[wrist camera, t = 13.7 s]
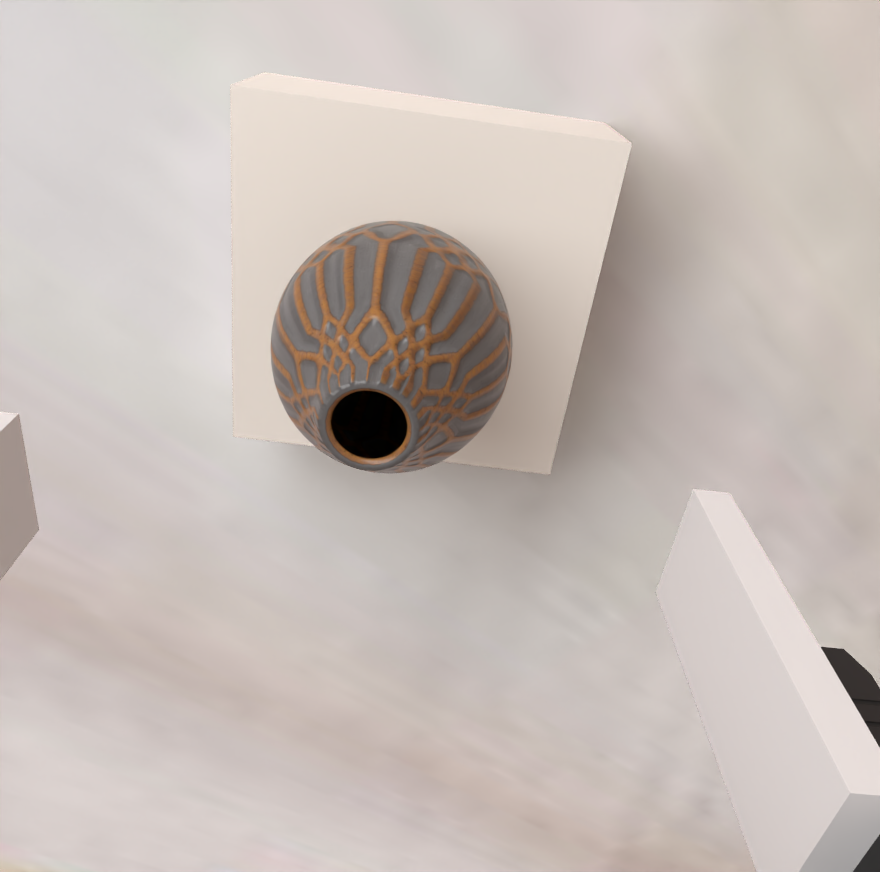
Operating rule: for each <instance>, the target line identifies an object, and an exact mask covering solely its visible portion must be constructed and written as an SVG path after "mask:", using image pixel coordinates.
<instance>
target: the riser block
mask: <svg viewBox="0 0 880 872" xmlns="http://www.w3.org/2000/svg"><path fill="white" fill-rule="evenodd" d="M230 98H231V237H232V375H233V437H240V438H248V439H256V440H265V441H273V442H281V443H290V444H298V445H306V446H314V445H313V444H312V443H311V442H309V441H308V440H307V439H306V438H305V437H304V436H303V434H302V433H301V432H300V431H299V430H298V429H297V428H296V426H295V425H294V423H293V422H292V421H291V419H290V418H289V416H288V414H287V412H286V410H285V409H284V407H283V404H282V402H281V400H280V398H279V395H278V392H277V389H276V386H275V382H274V377H273V372H272V365H271V349H270V347H271V333H272V325H273V321H274V316H275V313H276V310H277V307H278V303H279V301H280V298H281V296H282V294H283V292H284V290H285V288H286V286H287V284H288V283H289V281H290V280H291V278H292V277H293V275H294V273H295V272H296V271H297V270H298V268H299V267H300V266H301V265H302V264H303V262H304V261H305V260H306V259H307V258H308V257H309V256H310V255H311V254H312V253H313V252H315V251H316V250H317V249H318V248H319V247H321V246H322V245H323V244H324V243H326V242H327V241H329V240H330V239H332V238H334V237H335V236H337V235H339V234H341V233H342V232H344V231H347V230H349V229H351V228H354V227H357V226H360V225H364V224H368V223H373V222H380V221H406V222H413V223H419V224H423V225H427V226H429V227H432V228H435V229H438V230H440V231H442V232H444V233H446V234H448V235H450V236H452V237H453V238H455V239H457V240H458V241H460V242H461V243H462V244H464V245H465V246H466V247H468V248H469V249H470V250H471V251H472V252H473V253H475V254H476V256H477V257H478V258H479V259H480V260H481V261H482V262H483V263H484V264H485V266H486V267H487V268H488V269H489V271H490V272H491V274H492V275H493V277H494V279H495V280H496V282H497V284H498V286H499V288H500V290H501V293H502V295H503V298H504V300H505V303H506V306H507V310H508V314H509V318H510V324H511V331H512V362H511V369H510V373H509V377H508V381H507V384H506V387H505V390H504V393H503V395H502V398H501V400H500V402H499V404H498V406H497V408H496V409H495V411H494V413H493V414H492V416H491V418H490V419H489V420H488V422H487V423H486V424H485V426H484V427H483V428H482V429H481V431H480V432H479V433H478V434H477V435H476V436H475V437H474V438H473V439H472V440H471V441H470V442H469V443H468V444H467V445H466V446H464V447H463V448H462V449H461V450H459V451H458V452H456V453H455V454H453V455H452V456H450V457H448V458H447V459H445V460H443V461H441V462H448V463H456V464H464V465H473V466H481V467H489V468H498V469H506V470H514V471H523V472H531V473H539V474H547V475H550V472H551V468H552V464H553V460H554V456H555V452H556V448H557V444H558V440H559V436H560V432H561V428H562V424H563V420H564V416H565V412H566V408H567V404H568V400H569V396H570V392H571V388H572V384H573V380H574V376H575V372H576V368H577V364H578V360H579V356H580V352H581V347H582V343H583V339H584V335H585V331H586V327H587V323H588V319H589V315H590V311H591V307H592V303H593V299H594V295H595V291H596V287H597V283H598V279H599V275H600V271H601V267H602V263H603V259H604V255H605V251H606V247H607V243H608V239H609V235H610V231H611V227H612V223H613V219H614V215H615V211H616V207H617V202H618V198H619V194H620V190H621V186H622V182H623V178H624V174H625V170H626V166H627V162H628V158H629V154H630V150H631V146H632V143H631V142H630V141H628V140H627V139H626V138H624V137H623V136H622V135H621V134H619V133H618V132H617V131H615V130H614V129H613V128H612V127H610V126H609V125H608V124H606V123H605V122H598V121H592V120H585V119H578V118H571V117H565V116H558V115H551V114H544V113H538V112H531V111H524V110H517V109H510V108H504V107H497V106H490V105H483V104H477V103H470V102H463V101H456V100H450V99H443V98H436V97H429V96H423V95H416V94H409V93H402V92H395V91H389V90H382V89H375V88H368V87H362V86H355V85H348V84H341V83H335V82H328V81H321V80H314V79H308V78H301V77H294V76H287V75H280V74H274V73H267V72H263V73H261V74H258V75H255V76H253V77H250V78H247V79H245V80H242V81H239V82H237V83H234V84H231V85H230Z"/></svg>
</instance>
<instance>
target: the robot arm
mask: <svg viewBox="0 0 880 872" xmlns="http://www.w3.org/2000/svg"><path fill="white" fill-rule="evenodd" d="M38 530H39V527H38V521H37V515H36V509H35V504H34V498H33V492H32V487H31V481H30V475H29V470H28V464H27V458H26V452H25V447H24V441H23V435H22V430H21V424H20V418H19V414H18V413H9V412H0V580H1V579H2V578H3V576H4V575H5V574H6V572H7V571H8V570H9V568H10V567H11V566H12V564H13V563H14V562H15V560H16V559H17V558H18V557H19V555H20V554H21V553H22V551H23V550H24V549H25V547H26V546H27V545H28V543H29V542H30V541H31V539H32V538H33V537H34V535H35V534H36V533H37V532H38ZM655 593H656V596H657V599H658V601H659V604H660V607H661V610H662V612H663V615H664V618H665V621H666V623H667V626H668V629H669V632H670V634H671V637H672V640H673V643H674V645H675V648H676V651H677V654H678V656H679V659H680V662H681V665H682V668H683V670H684V673H685V676H686V679H687V681H688V684H689V687H690V690H691V692H692V695H693V698H694V701H695V703H696V706H697V709H698V712H699V714H700V717H701V720H702V723H703V725H704V728H705V731H706V734H707V737H708V739H709V742H710V745H711V748H712V750H713V753H714V756H715V759H716V761H717V764H718V767H719V770H720V772H721V775H722V778H723V781H724V783H725V786H726V789H727V792H728V794H729V797H730V800H731V803H732V806H733V808H734V811H735V814H736V817H737V819H738V822H739V825H740V828H741V830H742V833H743V836H744V839H745V841H746V844H747V847H748V850H749V852H750V855H751V858H752V861H753V863H754V866H755V869H756V872H880V688H879V686H878V685H877V683H876V682H875V680H874V678H873V677H872V675H871V674H870V673H869V672H868V671H867V670H866V669H865V668H864V667H862V666H861V665H860V664H859V663H858V662H857V661H856V660H855V659H854V658H853V657H852V656H851V655H850V654H848V653H847V652H846V651H845V650H844V649H837V648H827V647H820V645H819V644H818V642H817V640H816V638H815V637H814V635H813V633H812V632H811V630H810V628H809V627H808V625H807V623H806V621H805V620H804V618H803V616H802V615H801V613H800V611H799V609H798V608H797V606H796V604H795V603H794V601H793V599H792V598H791V596H790V594H789V592H788V591H787V589H786V587H785V586H784V584H783V582H782V581H781V579H780V577H779V575H778V574H777V572H776V570H775V569H774V567H773V565H772V564H771V562H770V560H769V558H768V557H767V555H766V553H765V552H764V550H763V548H762V546H761V545H760V543H759V541H758V540H757V538H756V536H755V535H754V533H753V531H752V529H751V528H750V526H749V524H748V523H747V521H746V519H745V518H744V516H743V514H742V512H741V511H740V509H739V507H738V506H737V504H736V502H735V501H734V499H733V497H732V495H731V494H730V493H727V492H718V491H709V490H700V489H693V490H692V493H691V496H690V498H689V501H688V504H687V507H686V509H685V512H684V515H683V517H682V520H681V523H680V526H679V528H678V531H677V534H676V537H675V539H674V542H673V545H672V548H671V550H670V553H669V556H668V559H667V561H666V564H665V567H664V570H663V572H662V575H661V578H660V581H659V583H658V586H657V589H656V592H655Z"/></svg>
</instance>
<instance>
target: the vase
mask: <svg viewBox="0 0 880 872" xmlns="http://www.w3.org/2000/svg"><path fill="white" fill-rule="evenodd" d="M270 349H271V365H272V372H273V377H274V382H275V386H276V389H277V392H278V395H279V398H280V400H281V402H282V404H283V407H284V409H285V410H286V412H287V414H288V416H289V418H290V419H291V421H292V422H293V423H294V425H295V426H296V428H297V429H298V430H299V431H300V432H301V433H302V434H303V436H304V437H305V438H306V439H307V440H308V441H309V442H311V443H312V444H313V445H314V446H315V447H317V448H318V449H319V450H320V451H322V452H323V453H325V454H326V455H328V456H329V457H331V458H333V459H335V460H337V461H339V462H341V463H343V464H345V465H348V466H351V467H353V468H357V469H360V470H365V471H370V472H377V473H402V472H410V471H415V470H419V469H423V468H426V467H429V466H432V465H434V464H437V463H439V462H441V461H443V460H445V459H447V458H448V457H450V456H452V455H453V454H455V453H456V452H458V451H459V450H461V449H462V448H463V447H464V446H466V445H467V444H468V443H469V442H470V441H471V440H472V439H473V438H474V437H475V436H476V435H477V434H478V433H479V432H480V431H481V429H482V428H483V427H484V426H485V424H486V423H487V422H488V420H489V419H490V418H491V416H492V414H493V413H494V411H495V409H496V408H497V406H498V404H499V402H500V400H501V398H502V395H503V393H504V390H505V387H506V384H507V381H508V377H509V373H510V369H511V362H512V331H511V324H510V318H509V314H508V310H507V306H506V303H505V300H504V298H503V295H502V293H501V290H500V288H499V286H498V284H497V282H496V280H495V279H494V277H493V275H492V274H491V272H490V271H489V269H488V268H487V267H486V266H485V264H484V263H483V262H482V261H481V260H480V259H479V258H478V257H477V256H476V254H475V253H473V252H472V251H471V250H470V249H469V248H468V247H466V246H465V245H464V244H462V243H461V242H460V241H458V240H457V239H455V238H453V237H452V236H450V235H448V234H446V233H444V232H442V231H440V230H438V229H435V228H432V227H429V226H427V225H423V224H419V223H413V222H406V221H380V222H373V223H368V224H364V225H360V226H357V227H354V228H351V229H349V230H347V231H344V232H342V233H341V234H339V235H337V236H335V237H334V238H332V239H330V240H329V241H327V242H326V243H324V244H323V245H322V246H321V247H319V248H318V249H317V250H316V251H315V252H313V253H312V254H311V255H310V256H309V257H308V258H307V259H306V260H305V261H304V262H303V264H302V265H301V266H300V267H299V268H298V270H297V271H296V272H295V273H294V275H293V277H292V278H291V280H290V281H289V283H288V284H287V286H286V288H285V290H284V292H283V294H282V296H281V298H280V301H279V303H278V307H277V310H276V313H275V316H274V321H273V325H272V333H271V347H270Z"/></svg>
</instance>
